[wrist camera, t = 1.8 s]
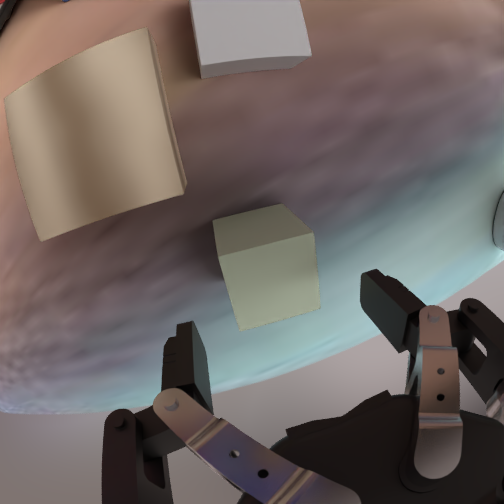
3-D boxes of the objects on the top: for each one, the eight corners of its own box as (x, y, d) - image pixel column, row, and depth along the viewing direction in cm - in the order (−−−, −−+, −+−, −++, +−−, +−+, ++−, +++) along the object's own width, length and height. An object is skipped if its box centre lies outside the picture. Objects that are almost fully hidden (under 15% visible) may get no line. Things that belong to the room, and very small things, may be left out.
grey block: (275, -1, 13) (292, -25, 10) (290, 69, 16) (311, 55, 12) (189, 7, 13) (187, -19, 9) (201, 79, 15) (201, 65, 12)
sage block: (281, 203, 19) (313, 232, 14) (291, 264, 22) (320, 308, 16) (212, 220, 19) (217, 256, 14) (228, 281, 21) (239, 331, 16)
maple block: (156, 46, 14) (146, 26, 10) (187, 181, 18) (184, 194, 14) (34, 100, 13) (4, 98, 9) (64, 222, 17) (40, 242, 14)
